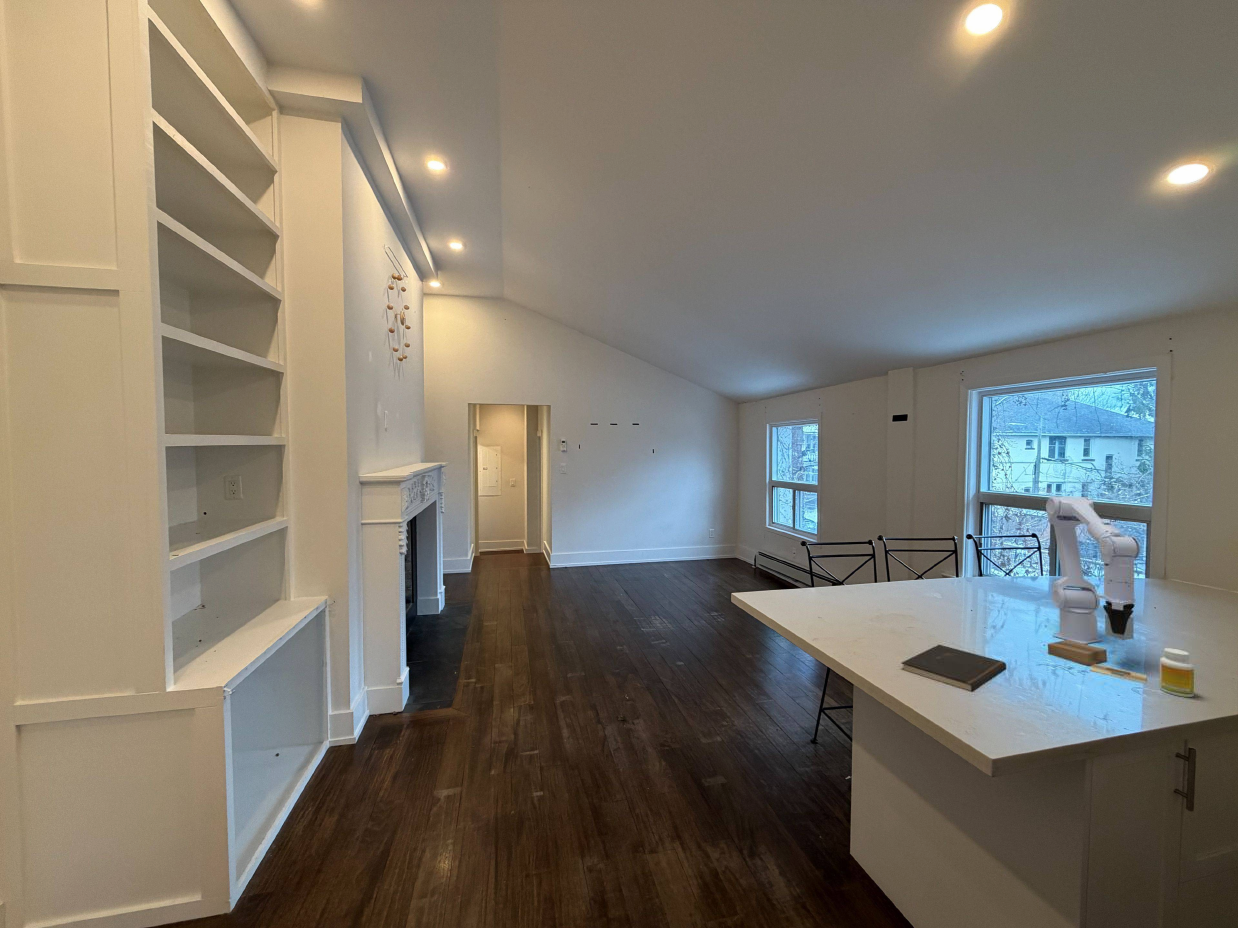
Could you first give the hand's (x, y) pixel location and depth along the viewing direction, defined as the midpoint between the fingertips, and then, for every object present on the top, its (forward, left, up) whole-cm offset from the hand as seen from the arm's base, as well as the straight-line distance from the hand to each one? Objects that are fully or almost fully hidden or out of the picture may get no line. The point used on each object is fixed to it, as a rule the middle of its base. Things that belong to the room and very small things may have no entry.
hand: (1118, 631), depth 133 cm
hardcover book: (+45, -14, -10) cm, 48 cm away
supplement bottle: (+9, +14, -9) cm, 19 cm away
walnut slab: (+5, -7, -9) cm, 12 cm away
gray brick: (0, 0, -2) cm, 2 cm away
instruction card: (+8, +3, -9) cm, 13 cm away
